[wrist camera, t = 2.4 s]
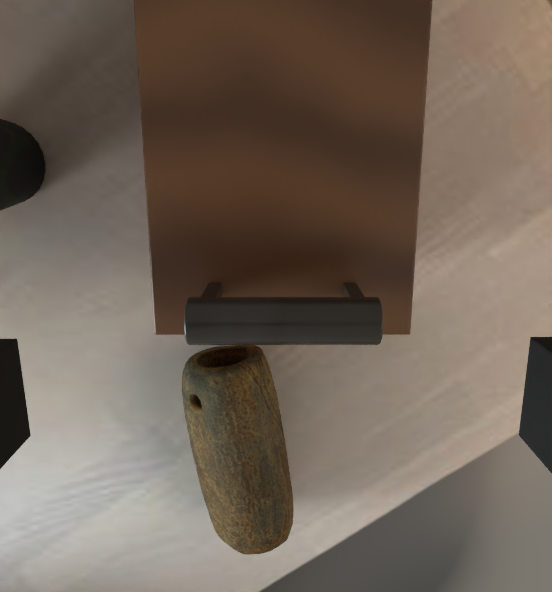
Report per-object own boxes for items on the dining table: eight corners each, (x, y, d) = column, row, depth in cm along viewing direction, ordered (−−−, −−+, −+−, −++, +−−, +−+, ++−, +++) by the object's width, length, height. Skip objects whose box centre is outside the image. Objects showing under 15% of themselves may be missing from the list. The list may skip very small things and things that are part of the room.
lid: (406, 330, 29) (448, 386, 22) (158, 330, 29) (119, 385, 22) (435, -109, 24) (501, -222, 17) (131, -107, 24) (68, -220, 17)
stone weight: (174, 347, 40) (153, 384, 33) (265, 328, 39) (262, 362, 33) (222, 515, 43) (212, 578, 37) (306, 499, 43) (311, 560, 36)
